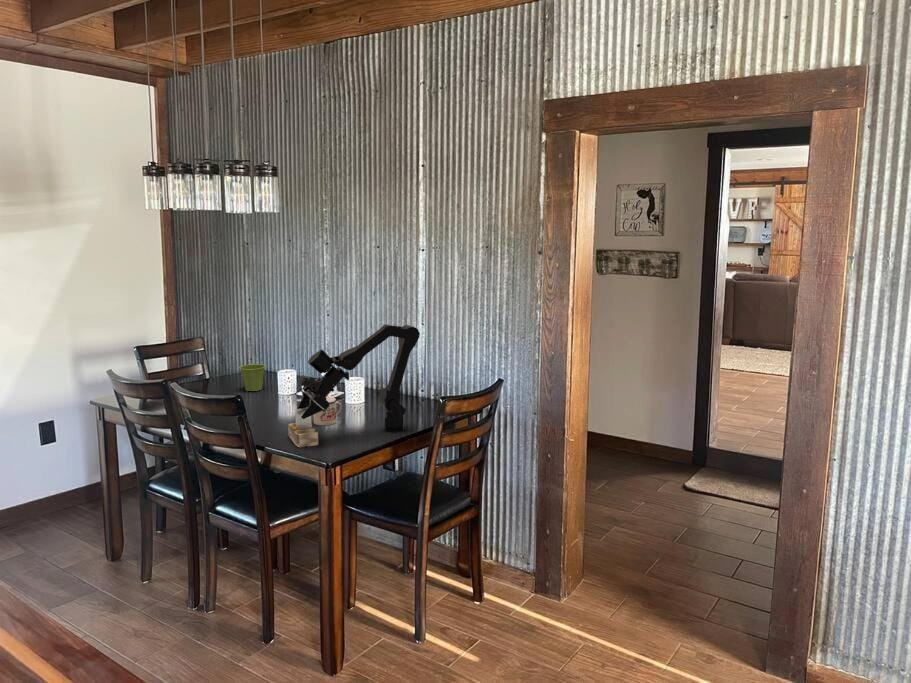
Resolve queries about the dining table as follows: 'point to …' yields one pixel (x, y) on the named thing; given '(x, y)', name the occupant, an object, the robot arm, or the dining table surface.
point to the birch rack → (302, 436)
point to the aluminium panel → (302, 420)
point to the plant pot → (252, 376)
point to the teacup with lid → (327, 413)
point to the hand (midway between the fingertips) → (299, 415)
